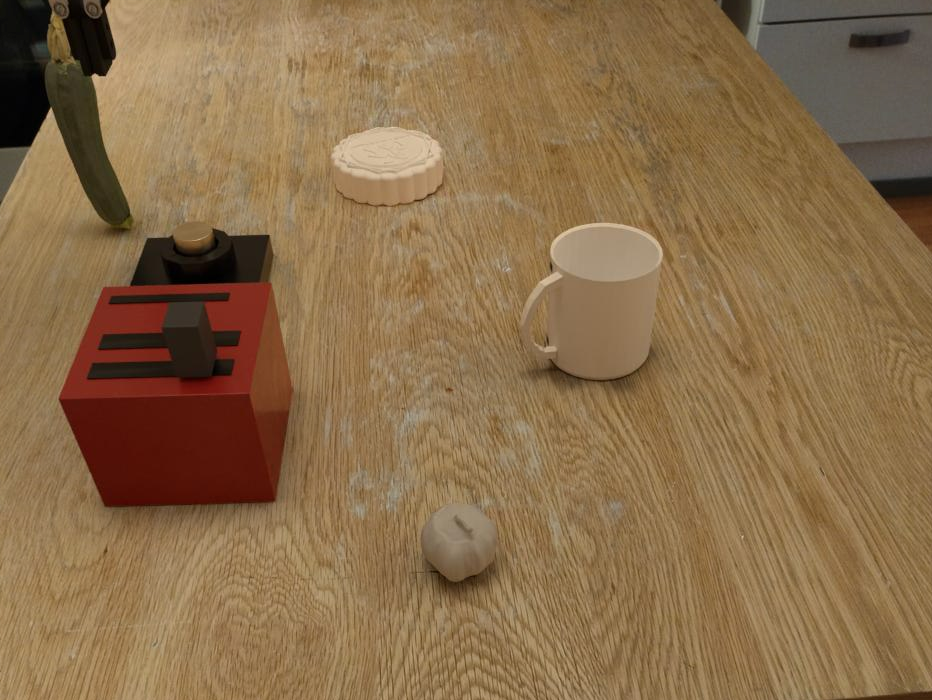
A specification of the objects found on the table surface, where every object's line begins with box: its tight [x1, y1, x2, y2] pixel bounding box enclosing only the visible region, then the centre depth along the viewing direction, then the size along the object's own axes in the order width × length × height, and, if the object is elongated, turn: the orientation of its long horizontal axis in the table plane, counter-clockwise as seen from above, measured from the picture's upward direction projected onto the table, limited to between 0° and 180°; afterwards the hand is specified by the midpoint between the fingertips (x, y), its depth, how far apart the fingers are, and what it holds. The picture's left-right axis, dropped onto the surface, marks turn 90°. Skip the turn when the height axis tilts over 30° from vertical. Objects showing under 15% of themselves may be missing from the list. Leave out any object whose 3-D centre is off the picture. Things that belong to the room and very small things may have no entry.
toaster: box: [58, 281, 294, 508], centre depth 74 cm, size 13×14×10 cm
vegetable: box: [44, 10, 135, 230], centre depth 92 cm, size 4×4×20 cm
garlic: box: [420, 501, 499, 583], centre depth 67 cm, size 6×5×5 cm
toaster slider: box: [161, 301, 217, 378], centre depth 65 cm, size 2×3×4 cm
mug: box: [519, 222, 664, 381], centre depth 81 cm, size 12×9×9 cm
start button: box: [172, 220, 216, 257], centre depth 89 cm, size 4×4×2 cm
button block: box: [129, 227, 275, 286], centre depth 91 cm, size 12×10×4 cm
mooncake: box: [330, 125, 444, 207], centre depth 104 cm, size 12×12×4 cm
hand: (98, 69), depth 76 cm, fingers closed
